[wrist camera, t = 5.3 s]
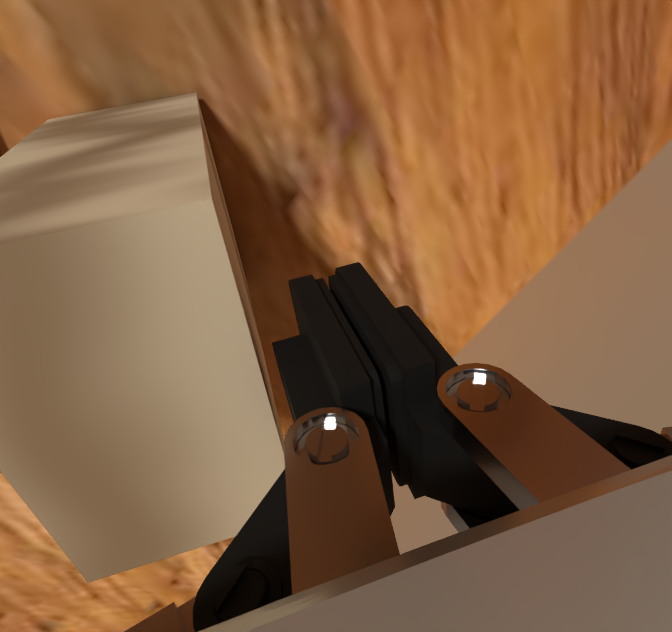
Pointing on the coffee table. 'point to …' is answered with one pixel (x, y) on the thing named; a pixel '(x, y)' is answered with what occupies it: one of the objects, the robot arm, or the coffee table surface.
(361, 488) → the robot arm
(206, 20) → the coffee table surface
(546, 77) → the coffee table surface
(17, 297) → the birch block
